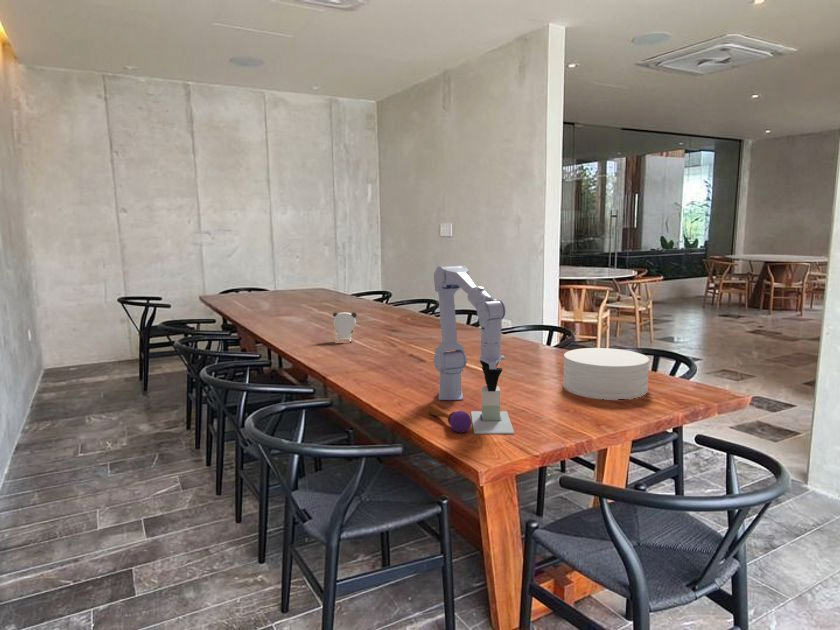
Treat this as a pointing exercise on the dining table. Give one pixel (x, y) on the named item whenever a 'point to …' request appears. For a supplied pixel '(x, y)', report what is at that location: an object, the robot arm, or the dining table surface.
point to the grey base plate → (491, 424)
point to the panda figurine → (344, 324)
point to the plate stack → (606, 373)
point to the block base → (490, 413)
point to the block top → (490, 397)
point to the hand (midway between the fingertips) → (490, 387)
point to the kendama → (452, 418)
